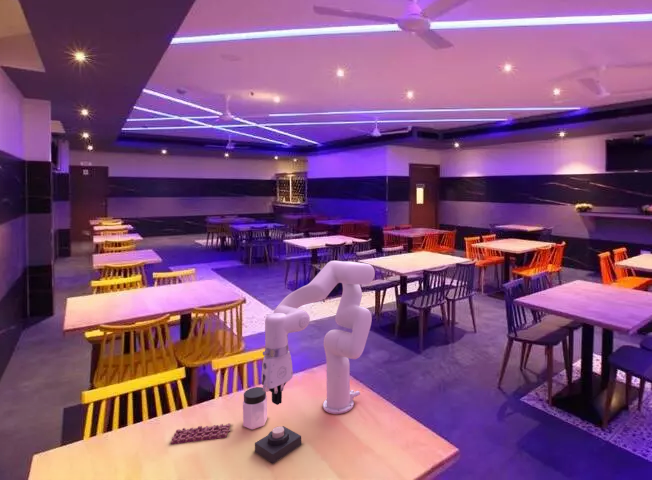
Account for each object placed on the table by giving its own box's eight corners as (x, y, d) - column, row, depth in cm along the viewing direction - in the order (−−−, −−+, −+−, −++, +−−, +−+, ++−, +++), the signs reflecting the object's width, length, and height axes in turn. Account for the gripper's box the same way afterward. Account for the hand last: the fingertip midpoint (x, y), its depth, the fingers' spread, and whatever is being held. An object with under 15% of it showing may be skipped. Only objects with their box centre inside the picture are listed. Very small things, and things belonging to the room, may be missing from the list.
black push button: (283, 434, 146) (283, 421, 146) (301, 444, 140) (301, 430, 140) (254, 452, 137) (254, 437, 136) (273, 463, 131) (272, 449, 130)
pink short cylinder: (279, 430, 141) (279, 424, 141) (286, 434, 139) (286, 428, 139) (269, 436, 138) (269, 430, 138) (277, 440, 135) (277, 434, 135)
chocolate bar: (228, 438, 145) (228, 432, 145) (171, 445, 141) (171, 439, 141) (232, 426, 152) (232, 421, 152) (177, 432, 148) (177, 427, 148)
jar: (245, 432, 148) (245, 400, 147) (240, 421, 154) (240, 391, 154) (270, 424, 152) (269, 393, 152) (264, 414, 159) (263, 384, 159)
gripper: (264, 360, 129) (265, 416, 129) (300, 346, 141) (300, 397, 141) (251, 354, 133) (251, 408, 134) (287, 341, 145) (287, 390, 146)
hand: (276, 402), depth 137 cm, fingers closed
